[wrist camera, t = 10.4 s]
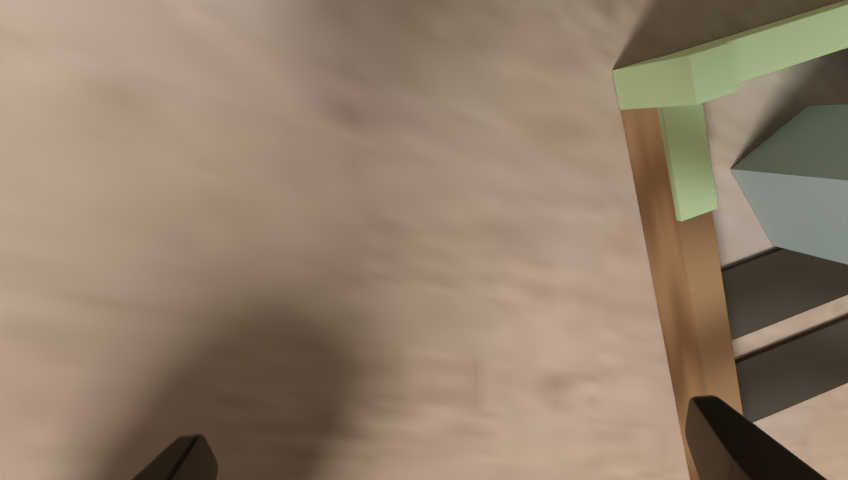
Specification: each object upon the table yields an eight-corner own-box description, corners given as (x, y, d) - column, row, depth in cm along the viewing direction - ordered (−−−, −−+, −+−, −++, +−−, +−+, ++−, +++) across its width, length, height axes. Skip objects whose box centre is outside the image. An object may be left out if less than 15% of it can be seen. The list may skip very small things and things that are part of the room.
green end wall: (920, 13, 24) (1058, -13, 19) (619, 109, 22) (696, 104, 18) (919, -25, 23) (1059, -60, 19) (612, 70, 22) (689, 55, 17)
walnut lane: (939, 432, 30) (1001, 463, 27) (700, 539, 28) (742, 583, 25) (920, -6, 24) (997, -23, 21) (616, 90, 22) (658, 84, 19)
